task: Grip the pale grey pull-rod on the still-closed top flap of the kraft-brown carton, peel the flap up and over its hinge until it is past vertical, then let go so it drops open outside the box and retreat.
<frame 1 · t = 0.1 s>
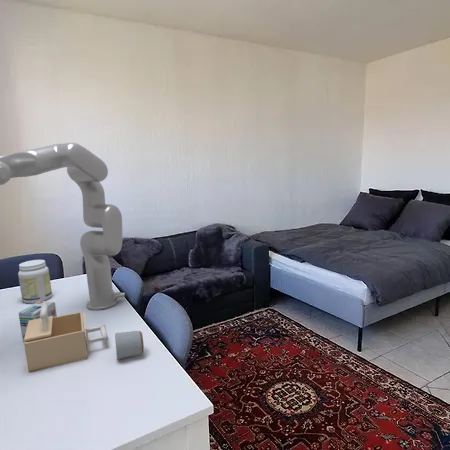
supplement tub: (37, 299, 162), on the table
flap: (38, 318, 110), point 13 cm above the table, hinge at 0.0°
carton: (59, 352, 114), on the table
ceramic mug: (129, 353, 112), on the table
light bulb box: (41, 335, 127), on the table
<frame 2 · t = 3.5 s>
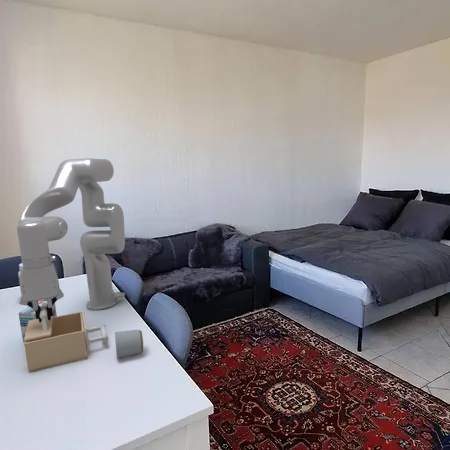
hand: (45, 319, 111), 12 cm above the table, tool pointing down, fingers closed on flap, 2 cm apart
flap: (38, 318, 110), point 13 cm above the table, hinge at 0.0°, touching gripper
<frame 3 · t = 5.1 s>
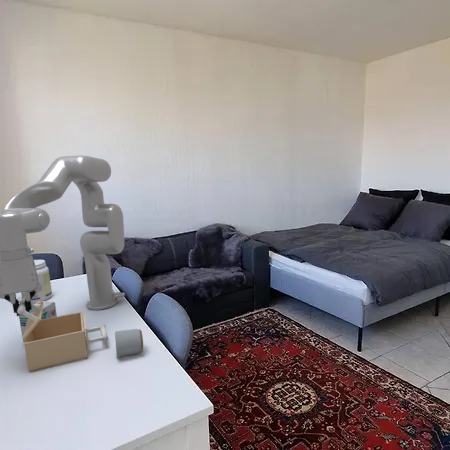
hand: (23, 313, 108), 15 cm above the table, tool pointing down, fingers closed on flap, 2 cm apart
flap: (25, 314, 109), point 15 cm above the table, hinge at 45.3°, touching gripper
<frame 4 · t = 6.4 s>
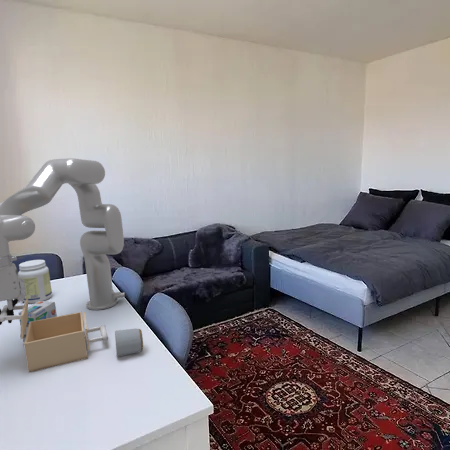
hand: (5, 321, 107), 14 cm above the table, tool pointing down, fingers closed on flap, 2 cm apart
flap: (13, 318, 108), point 14 cm above the table, hinge at 82.1°, touching gripper
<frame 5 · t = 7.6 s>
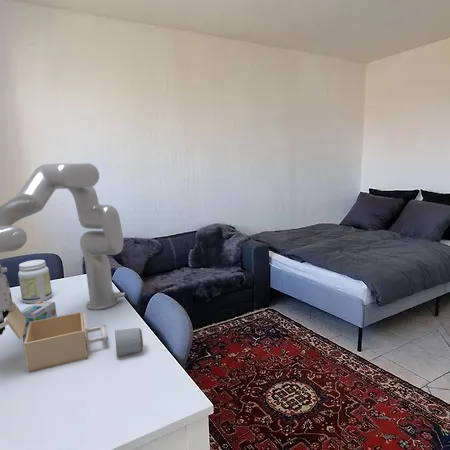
flap: (7, 325, 107), point 12 cm above the table, hinge at 111.9°, touching gripper
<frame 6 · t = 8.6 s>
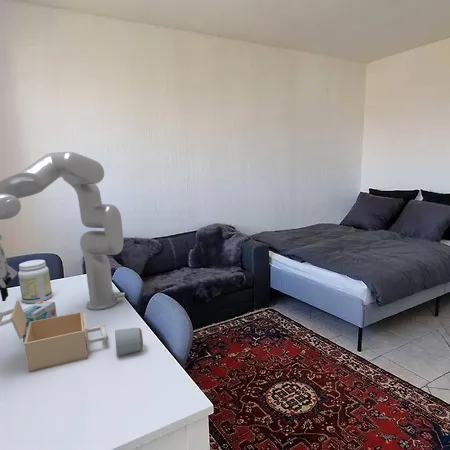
flap: (8, 323, 107), point 13 cm above the table, hinge at 102.1°
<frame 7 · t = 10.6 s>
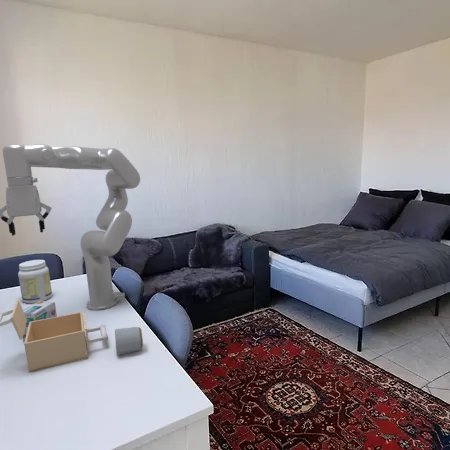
hand: (28, 233, 125), 36 cm above the table, tool pointing down, fingers open, 8 cm apart
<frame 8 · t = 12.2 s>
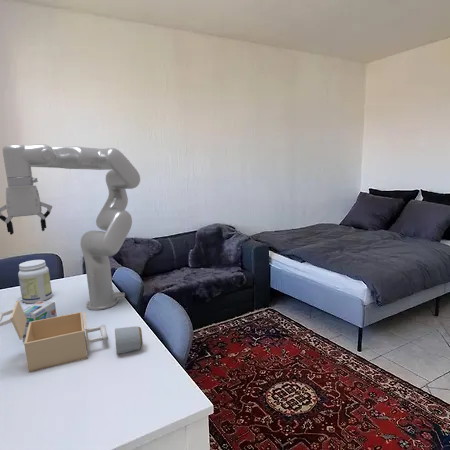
hand: (27, 232, 125), 36 cm above the table, tool pointing down, fingers open, 9 cm apart
at the end: flap at +102° (first picture: +0°); the gripper is holding nothing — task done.
